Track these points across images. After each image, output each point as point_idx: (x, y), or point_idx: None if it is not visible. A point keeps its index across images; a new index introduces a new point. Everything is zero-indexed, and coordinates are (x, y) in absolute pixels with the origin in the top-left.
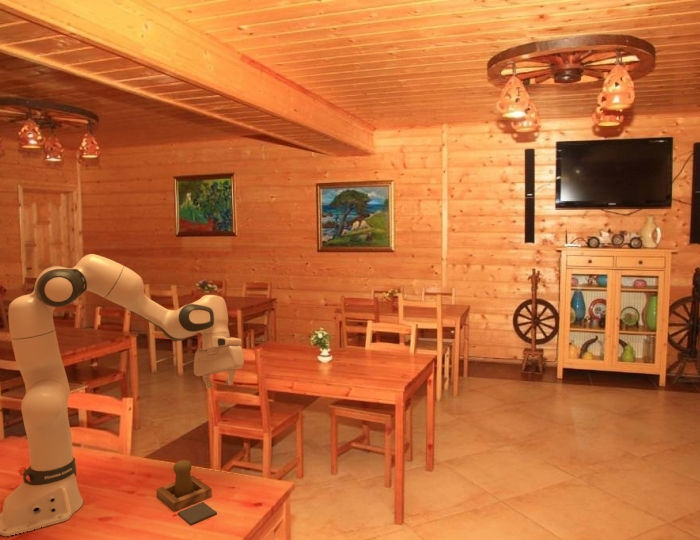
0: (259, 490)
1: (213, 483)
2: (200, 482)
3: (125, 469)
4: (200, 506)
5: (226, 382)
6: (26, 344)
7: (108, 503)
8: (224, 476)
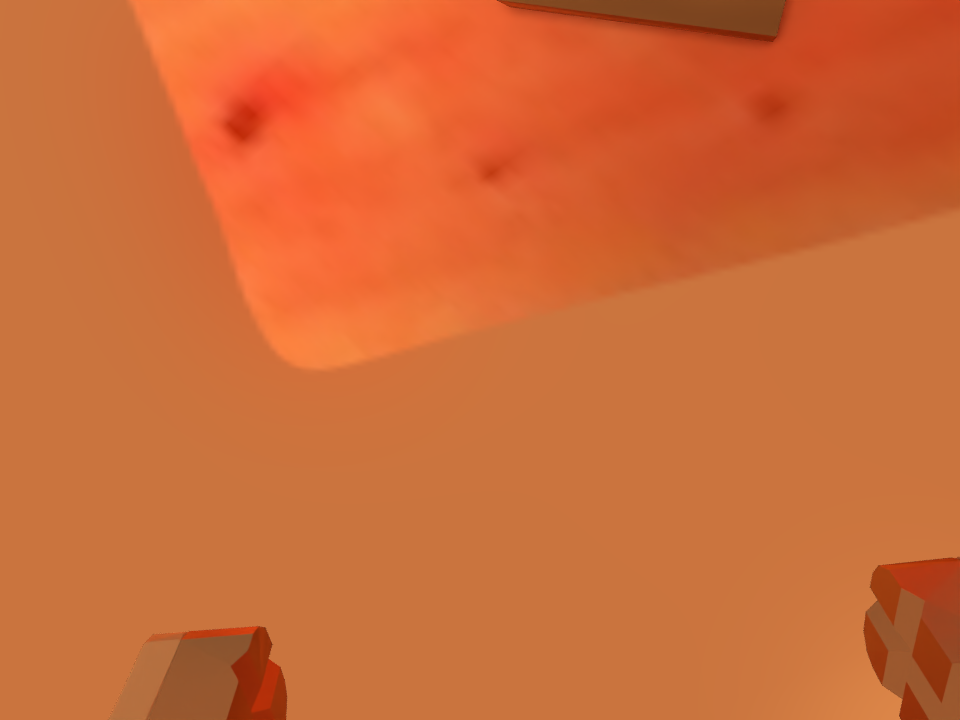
0: (345, 232)
1: (637, 127)
2: (631, 3)
3: None
4: None
5: (228, 657)
6: None
7: None
8: (648, 236)
